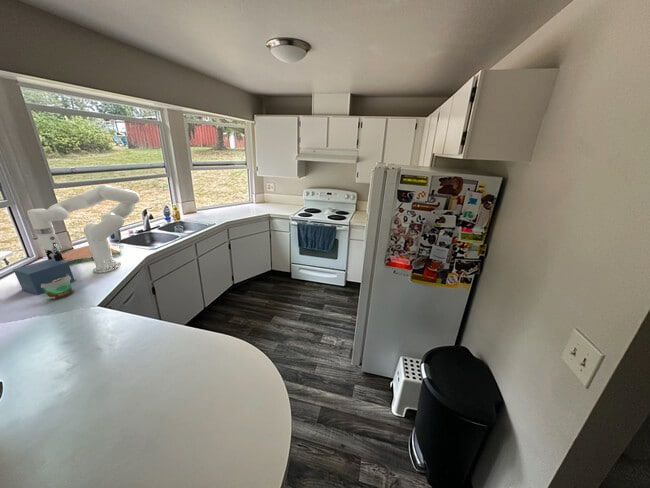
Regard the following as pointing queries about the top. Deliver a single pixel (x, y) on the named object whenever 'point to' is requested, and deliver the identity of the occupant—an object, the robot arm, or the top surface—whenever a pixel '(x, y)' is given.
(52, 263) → the freezer lid
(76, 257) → the tan flat block
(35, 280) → the blue bin
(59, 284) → the food container
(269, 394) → the top surface
